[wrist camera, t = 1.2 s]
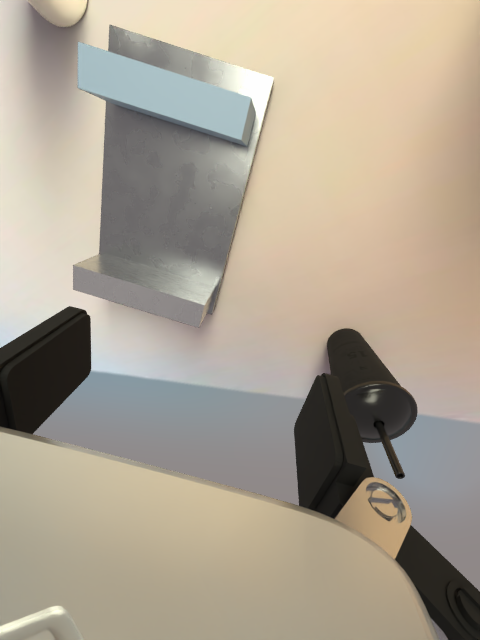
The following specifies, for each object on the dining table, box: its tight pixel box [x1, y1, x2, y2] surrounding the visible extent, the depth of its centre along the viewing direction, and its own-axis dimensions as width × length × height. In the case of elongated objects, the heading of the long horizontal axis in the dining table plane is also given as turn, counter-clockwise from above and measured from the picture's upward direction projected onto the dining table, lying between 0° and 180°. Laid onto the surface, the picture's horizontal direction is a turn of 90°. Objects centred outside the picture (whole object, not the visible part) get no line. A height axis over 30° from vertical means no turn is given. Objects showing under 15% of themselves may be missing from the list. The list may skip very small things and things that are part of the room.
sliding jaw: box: [78, 42, 256, 146], centre depth 26 cm, size 3×14×6 cm, turn 74°
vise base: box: [73, 25, 274, 328], centre depth 30 cm, size 26×16×8 cm, turn 164°
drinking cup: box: [327, 329, 417, 479], centre depth 31 cm, size 8×8×20 cm
